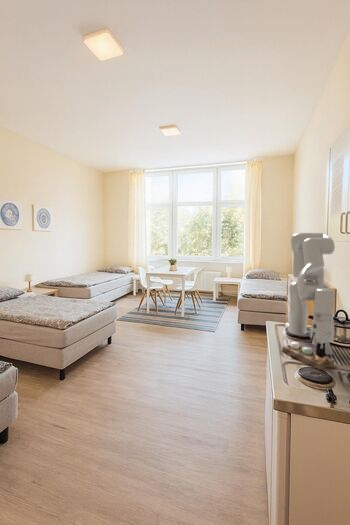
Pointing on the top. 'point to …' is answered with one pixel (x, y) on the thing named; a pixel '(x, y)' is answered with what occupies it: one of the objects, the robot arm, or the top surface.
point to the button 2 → (307, 351)
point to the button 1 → (294, 345)
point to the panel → (307, 357)
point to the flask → (328, 350)
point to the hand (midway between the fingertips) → (320, 356)
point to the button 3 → (320, 359)
